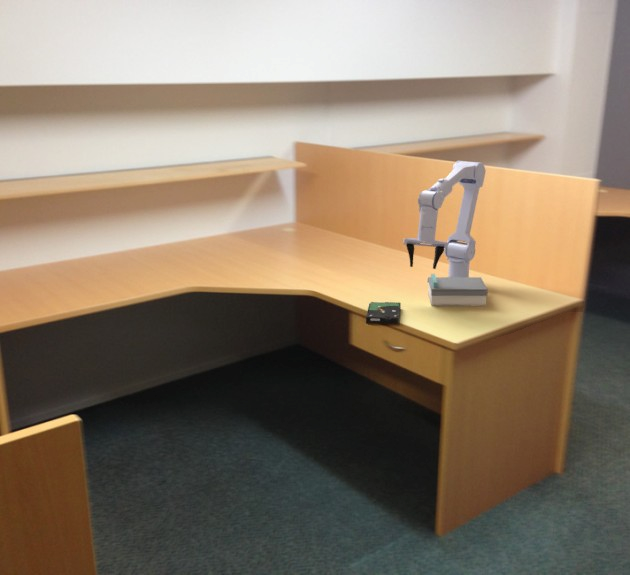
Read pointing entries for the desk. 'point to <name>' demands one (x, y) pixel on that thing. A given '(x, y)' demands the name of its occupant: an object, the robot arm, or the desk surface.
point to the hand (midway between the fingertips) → (422, 267)
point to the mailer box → (456, 300)
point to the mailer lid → (457, 286)
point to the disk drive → (383, 313)
